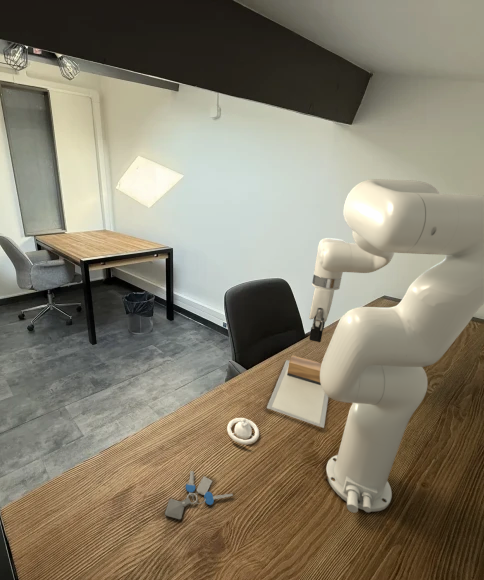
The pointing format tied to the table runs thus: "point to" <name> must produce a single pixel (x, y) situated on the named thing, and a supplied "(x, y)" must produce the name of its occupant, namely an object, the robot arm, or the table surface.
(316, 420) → the whiteboard
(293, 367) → the eraser
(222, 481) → the table surface
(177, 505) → the key chain
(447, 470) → the table surface
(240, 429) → the ring around a ball
